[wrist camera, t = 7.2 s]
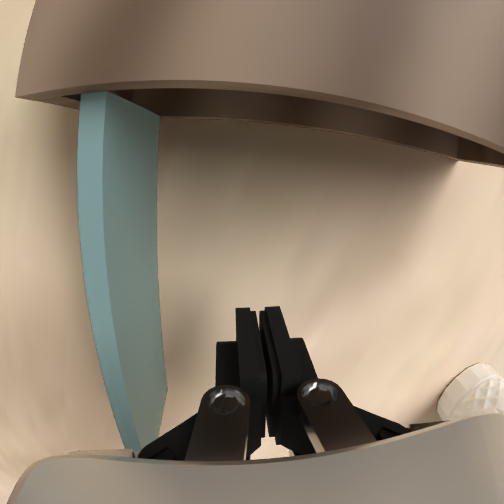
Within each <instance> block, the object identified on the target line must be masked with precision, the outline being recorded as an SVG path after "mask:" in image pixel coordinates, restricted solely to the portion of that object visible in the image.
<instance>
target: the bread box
mask: <svg viewBox="0 0 504 504" xmlns="http://www.w3.org/2000/svg"><path fill="white" fill-rule="evenodd" d="M101 91H108V92H110V93H113V94H115V95H117V96H119V97H121V98H124V99H126V100H128V101H130V102H132V103H134V104H136V105H139V106H141V107H143V108H145V109H147V110H149V111H151V112H153V113H155V114H157V115H159V116H160V118H192V119H217V120H233V121H247V122H258V123H269V124H278V125H287V126H295V127H303V128H310V129H317V130H324V131H330V132H336V133H342V134H348V135H353V136H359V137H364V138H369V139H374V140H379V141H384V142H388V143H393V144H397V145H401V146H406V147H410V148H414V149H418V150H422V151H426V152H429V153H433V154H437V155H440V156H444V157H447V158H451V159H454V160H458V161H464V162H471V163H477V164H484V165H490V166H496V167H502V168H504V0H36V2H35V5H34V9H33V12H32V16H31V19H30V23H29V27H28V31H27V35H26V39H25V43H24V48H23V53H22V58H21V63H20V68H19V74H18V81H17V88H16V95H15V97H16V98H22V99H28V100H34V101H39V102H45V103H50V104H55V105H60V106H65V107H70V108H74V109H79V110H80V101H81V94H84V93H92V92H101Z"/></svg>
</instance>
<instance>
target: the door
mask: <svg viewBox="0 0 504 504" xmlns="http://www.w3.org/2000/svg"><path fill="white" fill-rule="evenodd" d="M159 128H160V116H159V115H157V114H155V113H153V112H151V111H149V110H147V109H145V108H143V107H141V106H139V105H136V104H134V103H132V102H130V101H128V100H126V99H124V98H121V97H119V96H117V95H115V94H113V93H110V92H108V91H101V92H92V93H84V94H81V101H80V113H79V128H78V152H77V193H78V217H79V233H80V245H81V256H82V265H83V273H84V281H85V288H86V295H87V302H88V308H89V314H90V319H91V325H92V330H93V335H94V340H95V345H96V350H97V354H98V358H99V363H100V367H101V371H102V375H103V379H104V383H105V386H106V390H107V394H108V397H109V401H110V404H111V408H112V411H113V415H114V418H115V421H116V424H117V427H118V430H119V433H120V436H121V439H122V441H123V444H124V447H125V449H131V448H132V450H133V451H141V450H142V448H144V447H145V446H146V445H148V444H149V443H151V442H152V441H154V440H156V439H157V438H158V435H159V429H160V424H161V419H162V414H163V409H164V404H165V399H166V394H167V381H166V373H165V363H164V353H163V343H162V331H161V318H160V303H159V284H158V259H157V171H158V146H159Z"/></svg>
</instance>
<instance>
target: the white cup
mask: <svg viewBox="0 0 504 504" xmlns="http://www.w3.org/2000/svg"><path fill="white" fill-rule="evenodd" d="M437 413H438V414H439V416H440V417H441V419H442V421H448V420H453V419H456V418H461V417H465V416H469V415H475V414H481V413H501V414H504V378H502V377H500V375H499V374H498V373H496V372H495V371H494V370H493V369H492V368H491V367H490V366H489V365H488V364H483V363H478V364H475V365H473V366H471V367H468V368H467V369H466V370H464V371H463V372H462V373H460V374H459V375H458V376H457V377H455V379H454V380H453V381H452V382H451V383H450V384H449V385H448V387H447V388H446V389H445V390H444V392H443V394H442V396H441V397H440V399H439V401H438V406H437Z"/></svg>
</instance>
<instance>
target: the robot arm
mask: <svg viewBox="0 0 504 504" xmlns="http://www.w3.org/2000/svg"><path fill="white" fill-rule="evenodd" d="M266 420H267V426H268V433H269V437H275V441H276V445H282V446H284V447H286V448H288V449H289V455H290V457H282V458H271V459H258V460H251V454H252V453H253V452H254V451H255V450H257V449H258V448H259V447H260V446H261V438H264V437H265V422H266ZM7 504H504V414H501V413H481V414H475V415H469V416H465V417H461V418H456V419H453V420H448V421H440V422H432V423H422V424H411V425H409V426H408V428H405V427H403V426H402V425H400V424H398V423H396V422H393V421H390V420H388V419H385V418H383V417H380V416H377V415H375V414H372V413H370V412H367V411H365V410H362V409H360V408H357V407H355V406H353V405H352V403H351V402H350V400H349V399H348V398H347V396H346V395H345V393H344V392H343V390H342V389H341V388H340V387H339V386H338V384H336V383H334V382H332V381H330V380H326V379H318V377H317V374H316V372H315V369H314V366H313V364H312V361H311V359H310V356H309V353H308V351H307V348H306V345H305V343H304V340H303V338H290V337H289V334H288V331H287V328H286V324H285V321H284V318H283V315H282V312H281V309H280V306H275V307H265V311H260V314H259V327H258V322H257V316H256V311H250V308H236V341H227V342H217V344H216V387H213V388H211V389H209V390H208V391H207V392H206V393H205V394H204V395H203V397H202V399H201V403H200V407H199V410H198V413H196V414H195V415H193V416H192V417H190V418H189V419H187V420H186V421H184V422H183V423H181V424H180V425H178V426H177V427H175V428H173V429H172V430H170V431H169V432H167V433H165V434H164V435H162V436H161V437H159V438H157V439H156V440H154V441H152V442H151V443H149V444H148V445H146V446H145V447H144V448H142V450H141V451H133V450H132V448H131V449H117V450H94V451H74V452H70V453H68V454H67V455H60V456H52V457H48V458H44V459H41V460H38V461H36V462H34V463H33V464H31V465H30V466H29V467H28V468H27V469H26V470H25V471H24V472H23V474H22V475H21V477H20V478H19V480H18V482H17V483H16V485H15V487H14V489H13V491H12V493H11V495H10V497H9V500H8V502H7Z"/></svg>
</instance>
